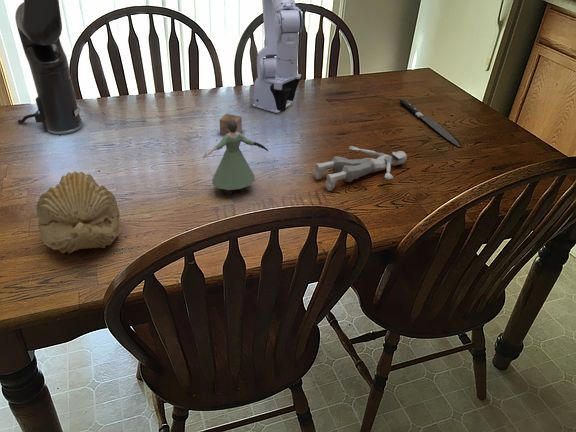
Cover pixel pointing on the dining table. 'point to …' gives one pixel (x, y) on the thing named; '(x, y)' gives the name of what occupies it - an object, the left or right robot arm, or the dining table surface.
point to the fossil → (78, 214)
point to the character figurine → (233, 162)
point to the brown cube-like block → (228, 117)
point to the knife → (429, 121)
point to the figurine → (358, 166)
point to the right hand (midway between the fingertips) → (285, 105)
